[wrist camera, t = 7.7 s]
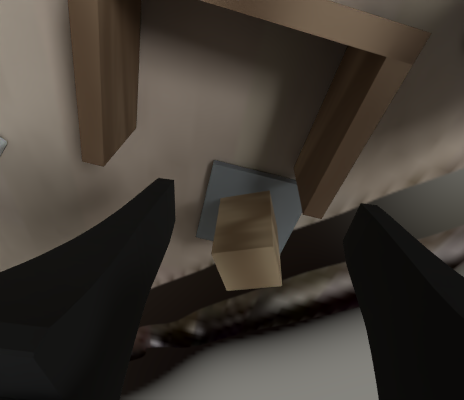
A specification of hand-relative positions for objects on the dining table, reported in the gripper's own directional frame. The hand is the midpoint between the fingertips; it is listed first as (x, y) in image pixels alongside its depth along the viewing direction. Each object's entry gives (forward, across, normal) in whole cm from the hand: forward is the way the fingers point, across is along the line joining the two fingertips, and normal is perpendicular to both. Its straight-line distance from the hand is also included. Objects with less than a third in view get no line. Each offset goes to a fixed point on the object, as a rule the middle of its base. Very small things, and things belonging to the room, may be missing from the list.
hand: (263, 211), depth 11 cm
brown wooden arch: (+10, +2, -2) cm, 11 cm away
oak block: (+10, 0, +8) cm, 13 cm away
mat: (+10, 0, +8) cm, 13 cm away
